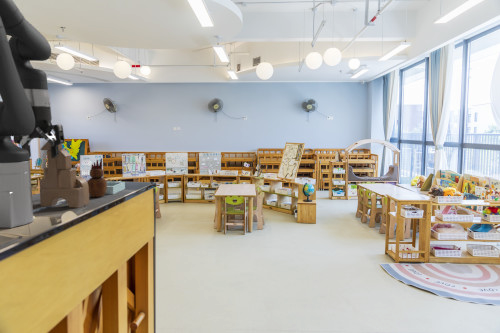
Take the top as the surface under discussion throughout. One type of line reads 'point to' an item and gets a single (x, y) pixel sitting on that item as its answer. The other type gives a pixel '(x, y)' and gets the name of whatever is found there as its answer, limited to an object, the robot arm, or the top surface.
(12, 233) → the top surface
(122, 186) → the pale teal tray
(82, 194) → the wooden toy
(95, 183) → the wooden figurine
